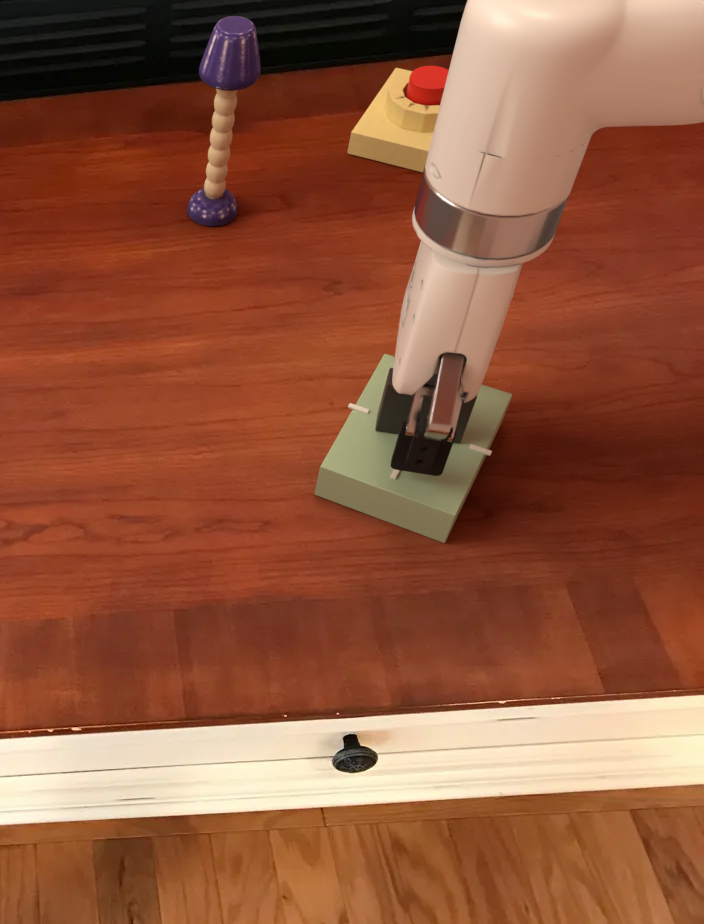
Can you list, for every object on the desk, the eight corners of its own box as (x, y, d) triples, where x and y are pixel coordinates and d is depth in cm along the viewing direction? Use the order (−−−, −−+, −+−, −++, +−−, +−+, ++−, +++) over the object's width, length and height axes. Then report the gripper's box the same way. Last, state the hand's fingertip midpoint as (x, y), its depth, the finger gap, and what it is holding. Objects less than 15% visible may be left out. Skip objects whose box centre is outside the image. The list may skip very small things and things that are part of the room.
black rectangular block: (374, 431, 77) (388, 381, 74) (377, 414, 78) (390, 364, 75) (460, 444, 76) (478, 394, 72) (461, 426, 77) (479, 376, 73)
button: (414, 80, 100) (418, 61, 99) (455, 89, 99) (460, 70, 98) (399, 101, 99) (404, 83, 97) (441, 111, 97) (446, 92, 96)
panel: (372, 381, 84) (380, 349, 82) (506, 425, 81) (518, 393, 78) (309, 492, 79) (315, 462, 76) (450, 545, 75) (461, 516, 72)
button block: (391, 89, 106) (399, 48, 103) (489, 111, 103) (501, 70, 100) (347, 153, 101) (354, 113, 98) (448, 179, 97) (460, 138, 94)
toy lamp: (225, 188, 100) (242, 1, 86) (255, 216, 97) (278, 28, 84) (177, 206, 99) (187, 21, 85) (207, 236, 96) (222, 49, 83)
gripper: (429, 106, 68) (376, 324, 82) (403, 298, 59) (348, 508, 73) (564, 117, 67) (486, 339, 80) (560, 317, 57) (473, 530, 71)
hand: (421, 418), depth 76 cm, fingers open, 8 cm apart
